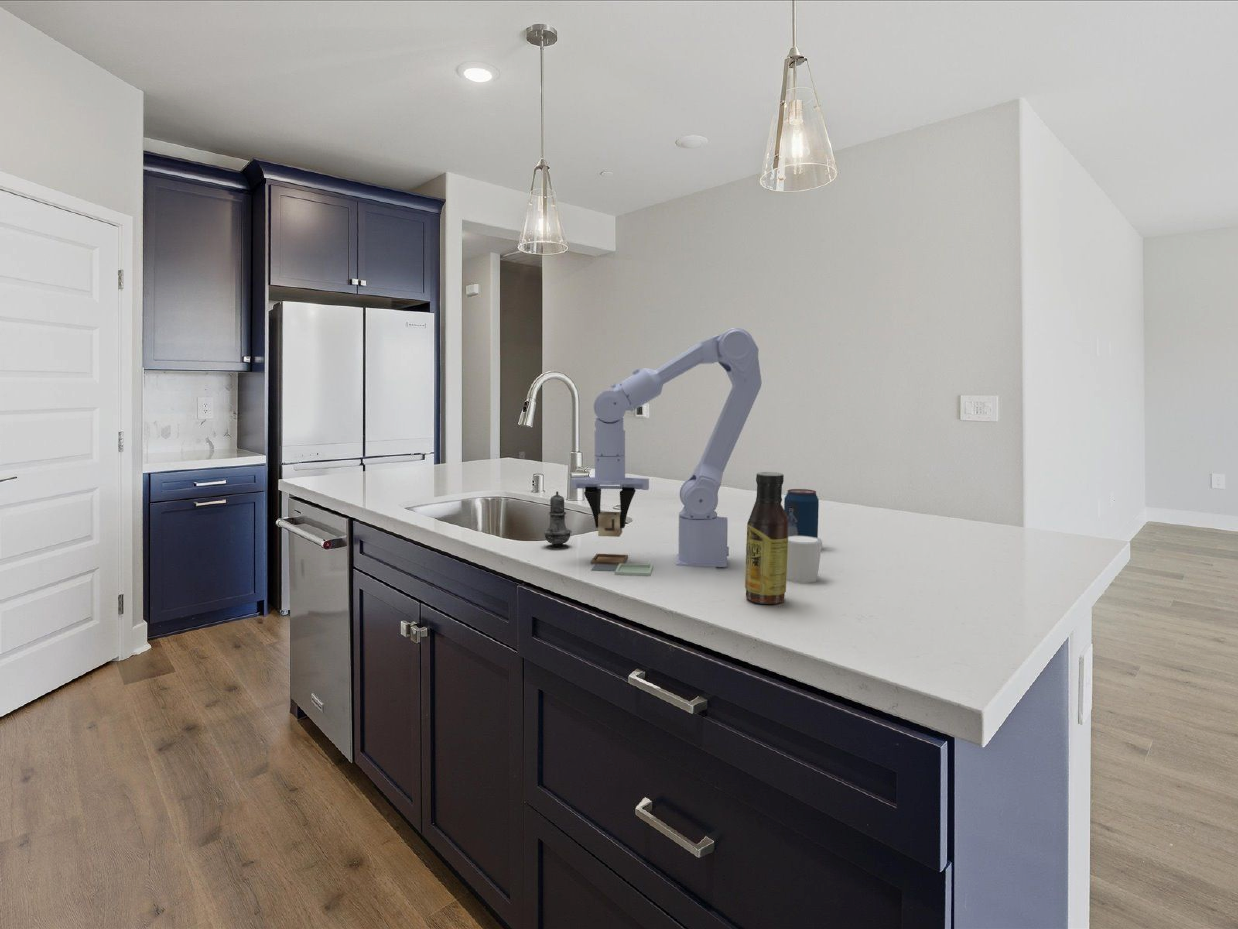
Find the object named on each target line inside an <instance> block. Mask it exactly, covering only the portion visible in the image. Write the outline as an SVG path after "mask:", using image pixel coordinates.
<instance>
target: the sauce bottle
mask: <svg viewBox="0 0 1238 929" xmlns="http://www.w3.org/2000/svg"><path fill="white" fill-rule="evenodd" d="M784 481H785V480H784V474H783V473H782V472H777V471H776V472H775V471H760V472H757V473H756V478H755V482H756V498H755V501H754V504H753V507H752V510H751V512H750V515H749V519H748V520H747V524H746V544H745V545H746V547H745V553H746V554H745V574H744V576H745V577H744V580H745V583H744V587H745V597H746V599H747V600H748V601H751V602H754V603H755V604H760V605H761V604H762V605H763V604H764V605H773V604H776V605H778V604H781V603H783V602H784V600H785V596H786V595H785V593H786V592H787V591H786V590H787V580H786V576H787V554H788V517H787V514H786V512H785V510H784V506H783V505H782V501H783V498H782V495H783V493H782V492H783V484H784V483H785V482H784Z"/></svg>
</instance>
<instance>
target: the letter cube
mask: <svg viewBox="0 0 1238 929" xmlns="http://www.w3.org/2000/svg"><path fill="white" fill-rule="evenodd" d="M620 513H621V511H601V513H600V514H599V515H598V528H597V532H598V533H597V534H598V536H597V537H611V538H613V537H615V538H617V537H618V538H620V536H621V535H622V534H623V528H620Z"/></svg>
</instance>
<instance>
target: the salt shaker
mask: <svg viewBox="0 0 1238 929" xmlns="http://www.w3.org/2000/svg"><path fill="white" fill-rule="evenodd" d="M549 508H550V512H548V515H549V525H548V526H549V527H548V528H547V529H544V530H543V531H542V532H543V534H544V537H545V538H544V539H545V540H546V541H547V543H549V544H548V545H547V546H546V549H549V550H566V549H568V548H569V545H568V544H566V543H567V542H568V541H569V540H570V537H571V534H572V530H571V529H568V528H567V526H566V518H565V516H566V514H567V512H565V498H564V496H561V495H560V494H559V491H556V492H555V494H554V495H553V496H551V498H550V500H549Z"/></svg>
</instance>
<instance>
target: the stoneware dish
mask: <svg viewBox="0 0 1238 929" xmlns="http://www.w3.org/2000/svg"><path fill="white" fill-rule="evenodd" d="M653 569H654V564H650V563H647V564H646V563H645V564H643V563H625V564H623V563H619V565H618V567H617V569H616V571H614V575H615V576H630V577H631V576H633V577H634V576H635V577H651V575H652V572H653Z"/></svg>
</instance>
